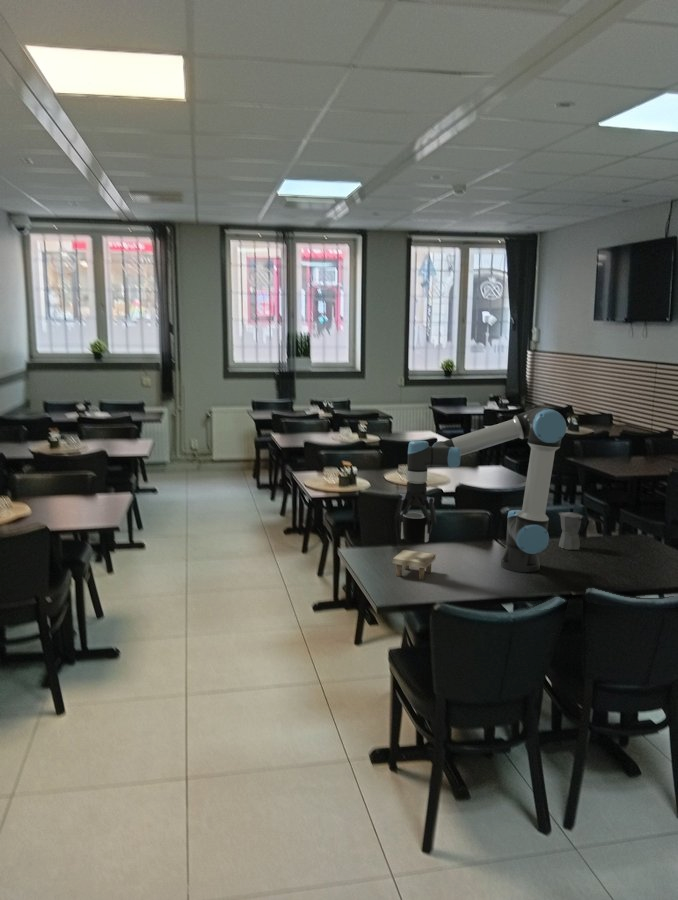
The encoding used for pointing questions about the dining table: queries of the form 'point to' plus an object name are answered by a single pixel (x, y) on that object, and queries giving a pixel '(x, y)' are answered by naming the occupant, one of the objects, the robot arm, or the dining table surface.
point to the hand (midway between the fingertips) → (414, 539)
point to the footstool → (414, 562)
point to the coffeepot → (571, 529)
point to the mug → (414, 527)
